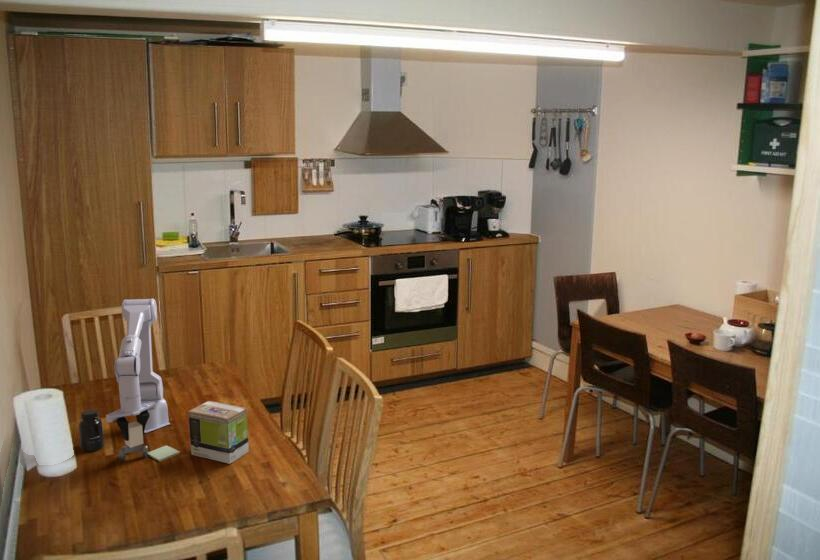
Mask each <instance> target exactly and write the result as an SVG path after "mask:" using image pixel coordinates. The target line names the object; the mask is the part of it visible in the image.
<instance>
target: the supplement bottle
mask: <svg viewBox="0 0 820 560" xmlns="http://www.w3.org/2000/svg"><path fill="white" fill-rule="evenodd" d="M80 418H81V419H80V421H79V422H78V433H79V434H78V435H79V445H80V446H79V447H80V450H81V451H83V452H85V451H86V453H88V452H89V453H90V452H91V453H93V452H96V451H99V450H101V449H103V447H104V445H105V442H104V440H105V439H104V429H103V426H104V425H103V420H102V419H101V418H100V417H99V410H98V409H94V408H93V409H92V408H90V409H84V410H82V411H81V413H80ZM92 451H93V452H92Z"/></svg>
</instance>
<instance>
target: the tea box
mask: <svg viewBox="0 0 820 560" xmlns="http://www.w3.org/2000/svg"><path fill="white" fill-rule="evenodd" d="M247 410H248V408H247V407H243V406H238V405H233V404H229V403H224V402H219V401H212V400H207V401H206V402H204V403H201V404H200V405H198V406H195V407H194V408H191V409H190V410H188V425H189V427H188V428H189V440H190V441H189V442H190V453H191V455H192V456H194V457H195V456H196V457H198V458H199V457H200V458H204V459H208V460H212V461H217V462H220V463H223V464H229V465H231V464H233V463H234V462H235V461H237V460H239V459H240V458H241V457H243V456H245V455H246V454H247V453H249V450H250V449H249V446H250V445H249V430H248V428H249V427H248V426H249V425H248V411H247Z"/></svg>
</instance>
